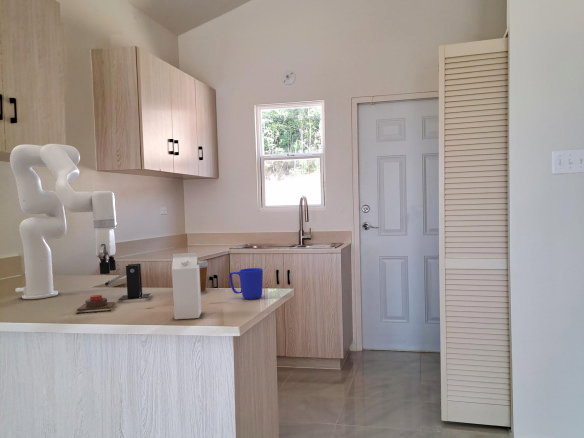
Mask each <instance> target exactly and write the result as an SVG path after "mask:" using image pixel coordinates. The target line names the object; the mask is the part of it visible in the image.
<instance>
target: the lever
mask: <svg viewBox="0 0 584 438" xmlns="http://www.w3.org/2000/svg"><path fill="white" fill-rule="evenodd" d="M124 277H126V271H125V272H123V273H121V274H119V275H117V276H115V277H113V278H112V279H110V280H107V281H106V282H105V283H104V286H108V287H109V285H110V284H112V283H114V282H117V281H118V280H120V279H122V278H124Z"/></svg>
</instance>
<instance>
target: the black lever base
mask: <svg viewBox="0 0 584 438" xmlns="http://www.w3.org/2000/svg"><path fill="white" fill-rule="evenodd" d="M125 272H126V276H125V277H126V278H125V279H126V292H127V293H126V294H123V295H121V296H120V298H119V299H118V301H128V300H138V299H140V300H141V299H149V297H150V296H151V292H150V293H149V292H148V293H143V281H142V263H128V264H127V265H125Z"/></svg>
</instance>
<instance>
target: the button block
mask: <svg viewBox="0 0 584 438" xmlns="http://www.w3.org/2000/svg"><path fill="white" fill-rule="evenodd" d="M84 302H85V303H83V304H82V305H81V306H79V307H78V308H77V310H76V313H77V315H82V314H84V315H85V314H95V313H96V314H97V313H108V312H111V311H112V309H111V308H112V307H113V306H114V305H116V302H115V301H108V298H107V297H102V300H99V301H90V298H89V299H86V300H85V301H84Z"/></svg>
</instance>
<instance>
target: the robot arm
mask: <svg viewBox="0 0 584 438" xmlns="http://www.w3.org/2000/svg"><path fill="white" fill-rule="evenodd" d="M80 161H81V154H80V152H79V150H78V149H77V148H76V147H75V146H73V145H71V144H70V145H69V144H62V143H61V144H60V143H47V144H44V145H39V144H28V143H27V144H25V143H24V144H19V145H16V146H15V147H13V149H12V150H11V152H10V155H9V164H10V168H11V171H12V174H13V176H14V179H15V183H16V189H17V196H18V202H19V207H20V209H21V212H22V213H24V214H27V215H44V214H45V215H46V216H32V217H27V218H25V219H24V220H22V221H21V222H20V224H19V227H18V230H19V235H20V239H21V243H22V250H23V260H24V262H23V263H24V274H25V276H24V277H25V285H24V286H23V287H15V289H14V291H15V293H16V294H22V293H23V294H22V295H21V298H22V299H23V300H39V299H46V298H52V297H55V296H58V295H59V290H54V276H53V261H52V260H53V259H52V258H53V257H52V251H51V250H52V249H51V248H50V245H48V243H47V242H46V241H51V240H52V241H53V240H59V239H62V238H64V237H65V235H66V234H67V229H68V228H67V227H68V225H67V219H66V212H65V209H66V210H67V211H69V212H71V213H92V220H93V221H92V222H93V230H95V256H96V257H97V258H98V260H99V261H98V262H99V264H98V265H99V275H109V274H111V271H112V272H113V271H117V265H116V264H117V263H116V256H115V255H116V238H115V230H114V229H117V218H116V217H117V215H116V203H115V202H116V201H115V194H114V192H113V191H112V190H95V191H87V190H85V191H82V190H80V191H77V190H76V191H75V190H74V189H73V187H72V186H71V185H70V184H72V183H74V182H75V181H76V180H77V179H78V178H79V176H80V170H79V168H78V167H77V165H78V164H79V163H80ZM34 167H38V168H47V169H48V170H49V171H50V173H51V175H53V177H54V178H55V180H56V182H55V185H54V189H55V190H50V189H49V190H48V189H43V187H42V181H41V178H40V176H39V174H38V173H37V172H36V171H35V169H33V168H34Z"/></svg>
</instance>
